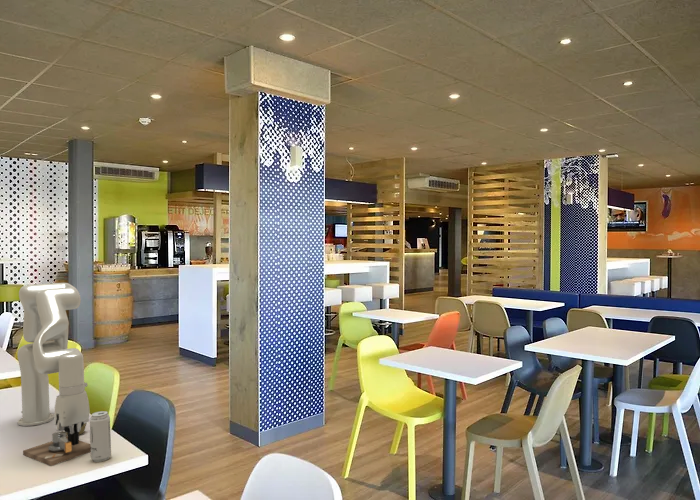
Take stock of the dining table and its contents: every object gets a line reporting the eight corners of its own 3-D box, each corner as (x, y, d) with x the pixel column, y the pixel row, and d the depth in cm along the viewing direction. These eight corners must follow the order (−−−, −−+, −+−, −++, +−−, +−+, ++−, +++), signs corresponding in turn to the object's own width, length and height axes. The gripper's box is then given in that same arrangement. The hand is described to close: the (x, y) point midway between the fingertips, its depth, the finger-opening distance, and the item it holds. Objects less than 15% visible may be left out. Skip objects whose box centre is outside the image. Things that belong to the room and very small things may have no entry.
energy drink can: (89, 458, 175) (87, 413, 175) (108, 453, 178) (107, 409, 178) (93, 464, 170) (91, 417, 170) (113, 459, 174) (111, 413, 173)
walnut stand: (23, 454, 179) (23, 449, 179) (67, 440, 192) (67, 435, 192) (51, 466, 170) (50, 460, 170) (95, 449, 182) (95, 444, 182)
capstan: (46, 448, 180) (45, 434, 180) (68, 442, 185) (67, 429, 185) (57, 458, 171) (56, 444, 171) (80, 452, 176) (79, 438, 175)
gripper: (86, 383, 186) (87, 434, 187) (43, 394, 173) (45, 449, 174) (99, 385, 182) (100, 438, 183) (56, 397, 170) (58, 454, 170)
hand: (73, 443), depth 178 cm, fingers closed
